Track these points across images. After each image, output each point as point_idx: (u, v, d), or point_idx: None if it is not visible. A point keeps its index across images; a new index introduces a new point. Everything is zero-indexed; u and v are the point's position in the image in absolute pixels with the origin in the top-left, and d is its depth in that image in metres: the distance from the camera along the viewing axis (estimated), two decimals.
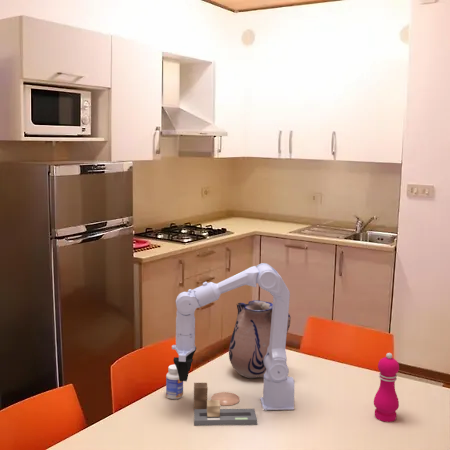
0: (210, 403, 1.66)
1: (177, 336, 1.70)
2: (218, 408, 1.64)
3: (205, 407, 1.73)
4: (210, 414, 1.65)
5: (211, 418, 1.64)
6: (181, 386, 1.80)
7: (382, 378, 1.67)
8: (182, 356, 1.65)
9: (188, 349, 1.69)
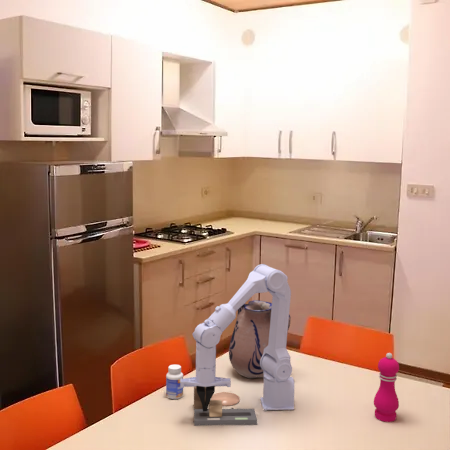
0: (213, 403, 1.66)
1: None
2: (220, 408, 1.65)
3: None
4: (212, 414, 1.65)
5: (211, 418, 1.64)
6: None
7: (382, 378, 1.67)
8: (180, 381, 1.65)
9: (196, 381, 1.64)
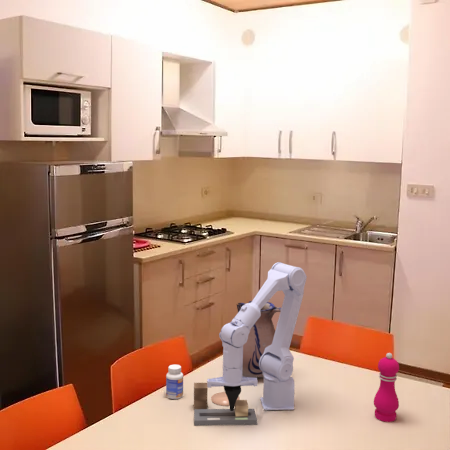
0: (238, 403, 1.66)
1: None
2: (246, 408, 1.65)
3: (205, 407, 1.73)
4: (238, 414, 1.65)
5: (211, 418, 1.64)
6: (181, 386, 1.80)
7: (382, 378, 1.67)
8: (207, 381, 1.65)
9: (223, 381, 1.64)
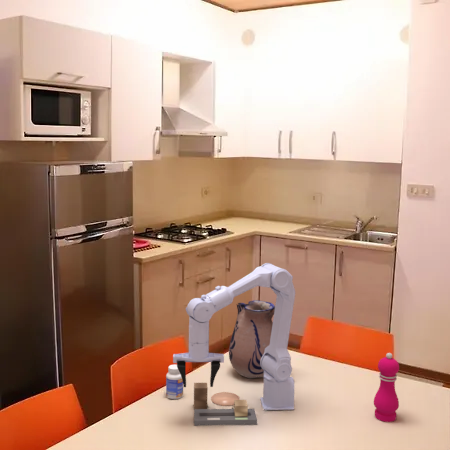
0: (238, 403, 1.66)
1: None
2: (246, 408, 1.65)
3: (205, 407, 1.73)
4: (238, 414, 1.65)
5: (211, 418, 1.64)
6: (181, 386, 1.80)
7: (382, 378, 1.67)
8: (173, 356, 1.63)
9: (189, 356, 1.62)
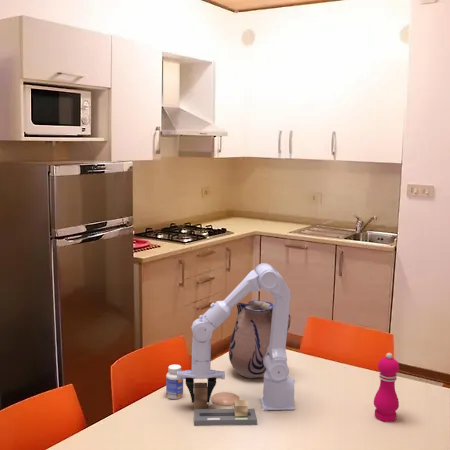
0: (238, 403, 1.66)
1: None
2: (246, 408, 1.65)
3: (205, 407, 1.73)
4: (238, 414, 1.65)
5: (211, 418, 1.64)
6: (181, 386, 1.80)
7: (382, 378, 1.67)
8: None
9: (192, 373, 1.72)
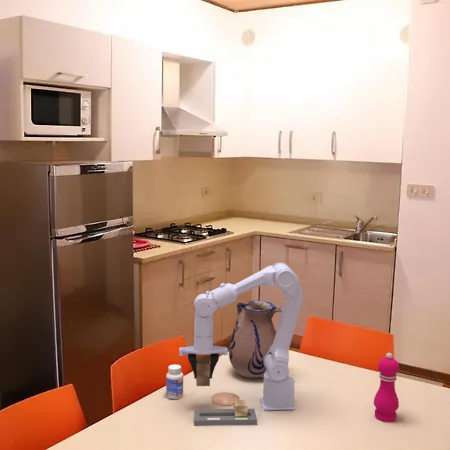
0: (238, 403, 1.66)
1: None
2: (246, 408, 1.65)
3: (208, 383, 1.72)
4: (238, 414, 1.65)
5: (211, 418, 1.64)
6: (181, 386, 1.80)
7: (382, 378, 1.67)
8: (179, 349, 1.72)
9: (194, 349, 1.71)
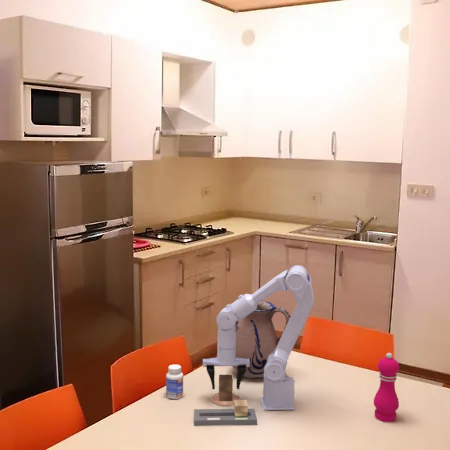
0: (238, 403, 1.66)
1: None
2: (246, 408, 1.65)
3: (230, 398, 1.78)
4: (238, 414, 1.65)
5: (211, 418, 1.64)
6: (181, 386, 1.80)
7: (382, 378, 1.67)
8: None
9: (218, 361, 1.77)
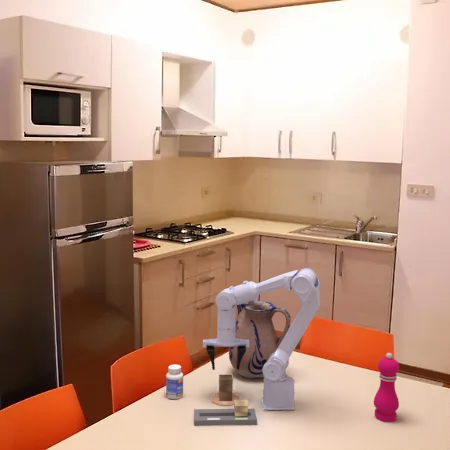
0: (238, 403, 1.66)
1: None
2: (246, 408, 1.65)
3: (230, 398, 1.78)
4: (238, 414, 1.65)
5: (211, 418, 1.64)
6: (181, 386, 1.80)
7: (382, 378, 1.67)
8: (203, 341, 1.79)
9: (218, 341, 1.78)
